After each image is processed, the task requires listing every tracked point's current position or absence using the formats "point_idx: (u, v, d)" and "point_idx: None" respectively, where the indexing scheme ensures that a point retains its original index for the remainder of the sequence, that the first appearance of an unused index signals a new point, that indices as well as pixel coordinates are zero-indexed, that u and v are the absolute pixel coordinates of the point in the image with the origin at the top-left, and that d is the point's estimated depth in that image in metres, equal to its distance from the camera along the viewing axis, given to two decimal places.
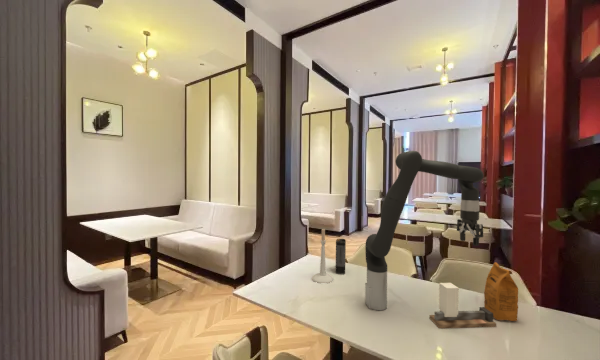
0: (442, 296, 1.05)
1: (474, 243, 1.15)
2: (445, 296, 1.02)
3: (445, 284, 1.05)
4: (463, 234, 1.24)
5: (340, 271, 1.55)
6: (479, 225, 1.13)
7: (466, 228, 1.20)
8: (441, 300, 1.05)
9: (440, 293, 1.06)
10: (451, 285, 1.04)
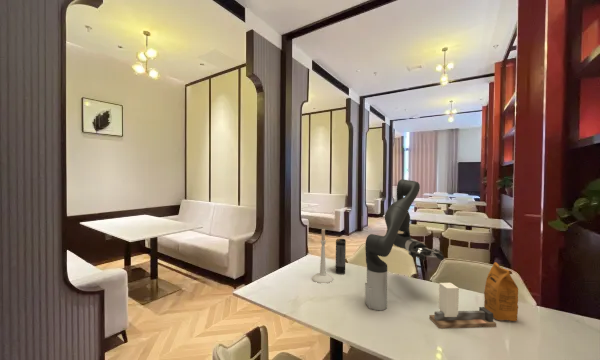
0: (442, 296, 1.05)
1: (441, 255, 1.16)
2: (445, 296, 1.02)
3: (445, 284, 1.05)
4: None
5: (339, 271, 1.55)
6: None
7: (424, 251, 1.22)
8: (441, 300, 1.05)
9: (440, 293, 1.06)
10: (451, 285, 1.04)
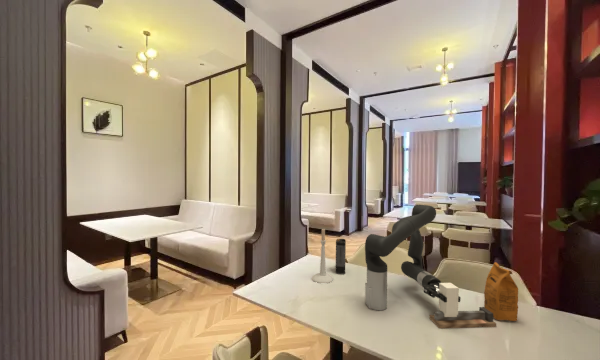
0: None
1: None
2: None
3: (445, 284, 1.05)
4: None
5: (340, 271, 1.55)
6: None
7: None
8: (441, 300, 1.05)
9: None
10: (451, 285, 1.04)
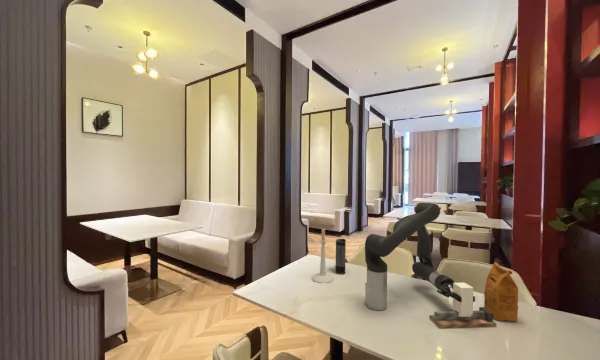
0: None
1: (473, 296, 1.03)
2: (460, 295, 1.02)
3: (459, 284, 1.05)
4: None
5: (340, 271, 1.55)
6: None
7: None
8: (455, 300, 1.05)
9: None
10: (465, 285, 1.04)
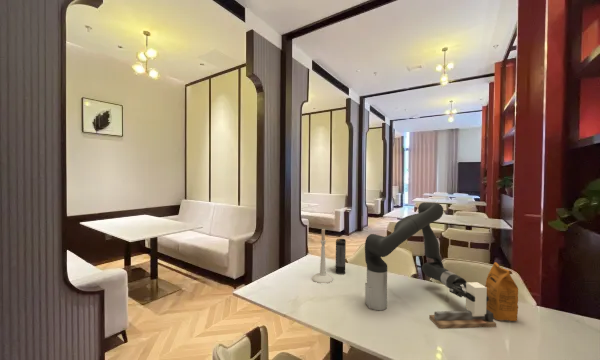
0: None
1: None
2: (473, 295, 1.03)
3: (472, 284, 1.06)
4: None
5: (340, 271, 1.55)
6: None
7: None
8: (468, 299, 1.06)
9: None
10: (478, 285, 1.04)
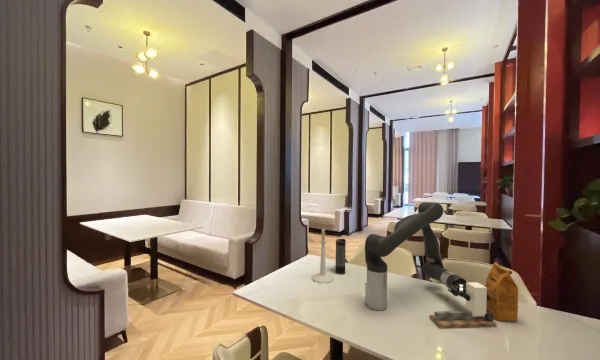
0: None
1: None
2: (473, 295, 1.03)
3: (472, 284, 1.06)
4: None
5: (339, 271, 1.55)
6: None
7: None
8: None
9: (467, 293, 1.06)
10: (478, 285, 1.04)
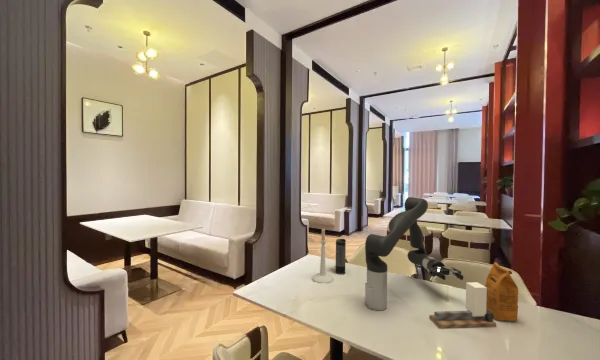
0: (469, 295, 1.05)
1: (461, 275, 1.17)
2: (473, 295, 1.03)
3: (472, 284, 1.06)
4: None
5: (339, 271, 1.55)
6: None
7: (443, 270, 1.23)
8: (468, 299, 1.06)
9: (467, 293, 1.06)
10: (478, 285, 1.04)
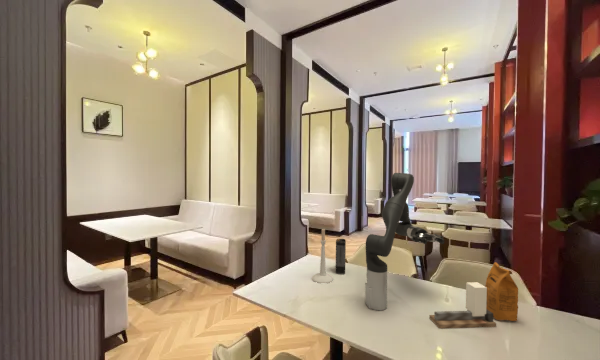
0: (469, 295, 1.05)
1: (442, 239, 1.20)
2: (473, 295, 1.03)
3: (472, 284, 1.06)
4: None
5: (340, 271, 1.55)
6: None
7: (425, 236, 1.26)
8: (468, 299, 1.06)
9: (467, 293, 1.06)
10: (478, 285, 1.04)
